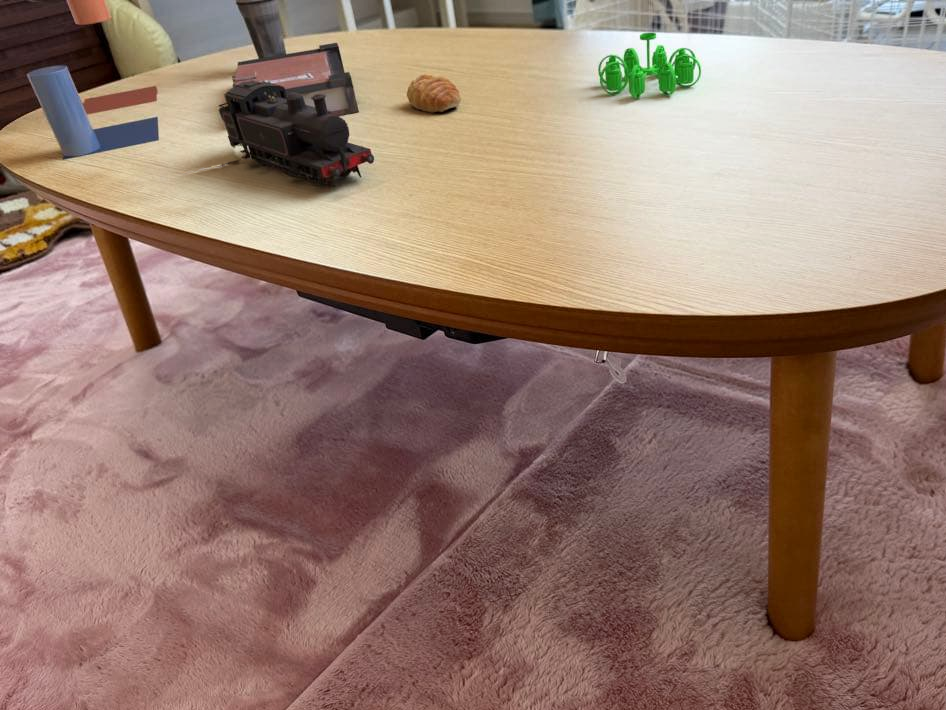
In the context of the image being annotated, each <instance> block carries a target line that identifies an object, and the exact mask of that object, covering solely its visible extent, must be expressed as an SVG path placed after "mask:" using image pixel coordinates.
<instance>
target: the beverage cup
mask: <svg viewBox="0 0 946 710" xmlns="http://www.w3.org/2000/svg"><path fill="white" fill-rule="evenodd" d="M235 5H237V8H238V11H239V13H240V15H241V17H242V19H243V21H244V23H245V26H246V28H247V32H248V35H249V36H250V39H251V42H252V45H253V47H254V50H255V53H256V55H257V59H260V58H266V57H272V56H278V55H284V54H287V51H286V50H287V49H286V45H285V41H284V40H285V38H284V35H283V29H282V24H281V19H280V13H279V11H280V10H279V1H278V0H235Z"/></svg>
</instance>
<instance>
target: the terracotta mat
mask: <svg viewBox="0 0 946 710" xmlns="http://www.w3.org/2000/svg"><path fill="white" fill-rule="evenodd" d="M157 95H158V87H157V85H152V86H147V87H142V88H136V89H131V90H126V91H119V92H116V93H115V92H114V93H109V94H104V95H100V96H94V97H89V98H84V100H83V101H84V102H83V106H84V108H85V111H86V113H87V115H91V114H92V115H93V114H97V113H102V112H108V111H113V110H118V109H123V108H128V107H133V106H138V105H143V104H149V103H155V102H157V101H158V96H157Z"/></svg>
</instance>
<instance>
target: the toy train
mask: <svg viewBox="0 0 946 710" xmlns="http://www.w3.org/2000/svg"><path fill="white" fill-rule="evenodd" d="M273 92H276V95H277V96H275V97H274V95H273ZM223 95H224V99H225V102H224V103H222V104H221V103H220V104H218V107H219V109H218V113H219V115H220V118H221V120H222V121H223V124H224V126H225V129H226V132H227V139H228V141H229V144H230V147H236V146H240V145H241V146H242V148H243V149H242V150H240V151H239V152H240V153H242V154H244V155H242V156H241V158H242V159H245V160H248V159H251V160H255V161H256V163H258V164H259V165H260V166H268V165H269V166H271V167H274V168H277V169H279V170H282V171H283V173H285V175H287V176H292V177H295V178H297V177H302V178H305V179H307V180H309V181H310V182H311V183H312V184H313V185H314V186H319V185H320V186H323V185H327V184H328V179H327V178H330V181H331V184H332V187H333V188H336V184H335V177H336V178H339V177H340V176H341V174H343V175H345V176H348V175H350V174H351V173H357V175H358V176H359V178H362V175H361V171H360V169H359V166H360V165H362V164H365V163H368V164H370V165H372V164H374V161H375V156H374V155H373V154H372V150H371V148H369V147H365V146H363V145H359V144H356V143H350V142H349V139H350V130H349V129H350V128H349V125H348V123H347V122H346V120H345V119H344V118H342V117H340V115H339V116H336V115H332V114H331V111H328V110H327V106H326V102H325V97H326V95H323V94H316V95H314V96H313V97H311V99H312V100H313V101H314V105H315V107H313V106H309V105H306V104H305V101H304V98H303V96H302V95H300V94H299V93H296V92H293V93H290V94H289V96H288V97H287V95H286V92H285V88H284V87H282V86H280V85H276V84H272V83H267V82H263V81H262V82H257V81H252V80H251V81H247V82H242V83H240V84H238V85H235V86H234V87H233V86H232V88H230V89H229V90H228V91H226V92H225V93H224V94H223ZM235 101H238V102H235ZM225 105H226V106H225ZM271 158H272V159H275V160H276V161H274V160H272V159H271ZM300 168H301V169H303V170H304V171H303V170H301V169H300ZM334 176H335V177H334Z"/></svg>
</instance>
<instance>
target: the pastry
mask: <svg viewBox="0 0 946 710" xmlns="http://www.w3.org/2000/svg"><path fill="white" fill-rule="evenodd" d="M406 98H407V100H408V102H409V104H410V105H411V106H413V107H414V108H415V109H417V110H421V111H424V112H427V113H432V114H433V113H436V112H440V113H443V112H444V111H447V110H449V109H451V108H456V107H459V106H460V104H461V102H462V97H461V95H460V91H459V89H458V88H457V86H456V85H455V84H454V83H452V81H451V80H450V79H449V78H445V77H444V76H435V75H432V74H427V73H426V74H420V75H419V76H417V77H416V78H415V79H413V80H411V83H410V84H409V85H408V87H407V91H406Z"/></svg>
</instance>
